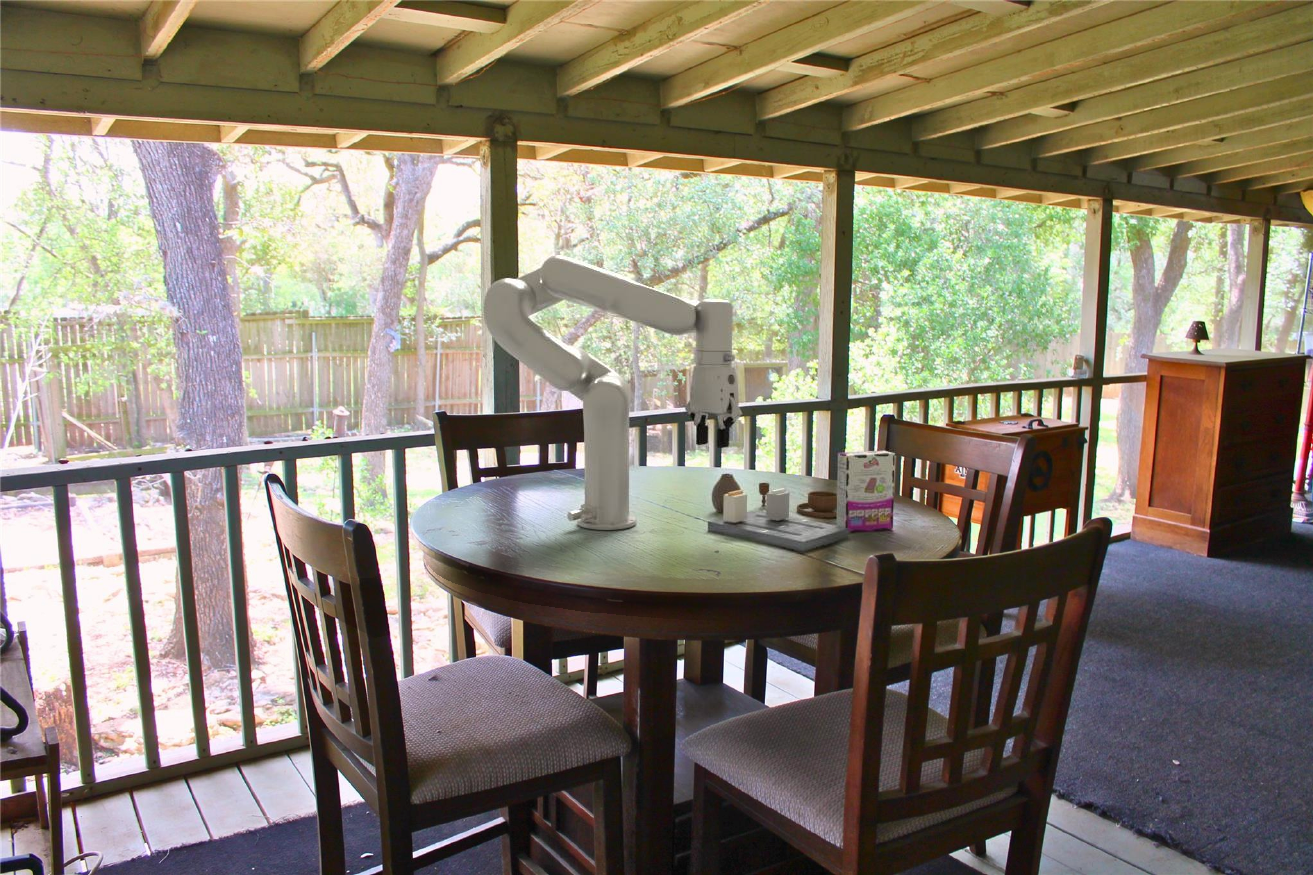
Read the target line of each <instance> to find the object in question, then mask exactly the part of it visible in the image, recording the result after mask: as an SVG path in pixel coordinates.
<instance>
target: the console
mask: <svg viewBox="0 0 1313 875" xmlns="http://www.w3.org/2000/svg"><path fill="white" fill-rule="evenodd" d="M707 531H708V532H712V533H717V534H721V535H726V536H728V537H729V536H730V537H735V538H739V539H744V540H749V541H751V542H755V543H756V542H758V543H761V544H765V545H771V546H774V545H775V547H779V548H783V547H785V548H784V549H789V550H792V549H794V550H793V551H797V552H801V551H802V553H804V551H805V552H807V551H810V549H811V550H814V549H817V548H816V547H818V548H820V546H821V547H823V546H822V545H824V546H827V545H829V544H833V543H837V542H840V541H843V540H846V539H849V537H850V532H849V528H846V527H841V526H837V524H835V525H834V524H829V523H824V522H819V521H815V520H809V519H803V518H799V517H793V516H789V518H785V519H782V520H778V521H777V520H772V519H767V518H766V511H763V510H759V509H758V510H757V509H754V510H753V509H752V510H749V511H747V520H743V521H739V522H735V523H734V522H729V521H724V520H723V517H721V518H720V517H719V518H717V519H712V520H708V521H707ZM813 548H814V549H813Z"/></svg>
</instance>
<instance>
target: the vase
mask: <svg viewBox="0 0 1313 875" xmlns="http://www.w3.org/2000/svg"><path fill="white" fill-rule="evenodd" d="M738 490H742V489H741V487H740V485H739V484H738V482H737V481H736V479H735V477H734V475H733V473H722V474H721V475H720V478H719V479H718V480H717V482H716V483H715V484H714V486H713V488H712V491H711V503H712V506H713V508H714V509H715V510H716V512H717V513H719V514H723V509H724V495H725V494H728V492H733V491H738Z"/></svg>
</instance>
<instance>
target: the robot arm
mask: <svg viewBox="0 0 1313 875" xmlns="http://www.w3.org/2000/svg"><path fill="white" fill-rule="evenodd" d="M562 301H568V302H571V303H573V304H574V303H575V304H578V305H580V306H582V307H586V308H588V309H592V310H594V311H597V312H600V313H603V314H606V315H609V316H611V317H614V318H621V319H626V320H628V321H631V322H634V323H637V324H640V325H643V326H645V327H649V328H651V329H655V330H658V331H661V332H663V333H665V334H666V333H667V334H669V335H672V336H683V335H685V334H687V335H688V334H693V333H695V339H696V340H695V365H693V370H692V376H691V382H690V391H689V392H690V393H689V401H688V403H687V404H686V405H685V408H684V410H685V411H686V413H687V414H688V415H689V416H690V418H691V420H692V421H693V425H694V426H695V427H696V428H695V429H696V430H695V444H696V445H697V446H701V445H707V444H708V443H709V425H708V424H707V421H708V417H709V415H716V416H717V422H718V427H719V428H717V431H716V447H717V449H724V448H728V447H730V429H732V428H733V425H734V424H735V423H736V421H737V420H738V419H739V418H740V417H741V416H742V415H743V412H742V409H741V408H740V405H739V403H740V402H739V383H738V377H737V371H736V366H732V365H733V362H734V361H735V360H736V356H735V354H733V322H734V321H733V318H734V317H733V316H734V315H733V314H734V312H733V311H734V308H733V303H732V302H731V301H729V300H727V299H726V300H725V299H703V300H700V301H699V300H691V299H690V300H689V299H685V298H683V297H679V296H675V295H673V294H670V293H668V292H664V291H661V290H659V289H655V288H653V287H649V286H647V285H645V284H641V283H639V282H636V281H634V280H632V279H630V278H629V277H626V276H624V275H621V274H619V273H615V272H613V271H610V270H608V269H607V270H606V269H603V268H600V267H597V266H595V265H592V264H589V263H587V262H583V261H580V260H578V259H575V258H572V257H568V256H564V255H557V254H556V255H553V256H550V257H548V258H547V259H546V260H544V262H543V263H542V265H541V267H539V268H537V269H535V270H534V271H531V272H528V273H526V274H524V275H522V276H519V277H517V278H511V277H506V278H505V277H504V278H501V279H498V280H496V281H494V282H493V283H492V284H491V285H490V286H489V287H488V289H487V291H486V293H485V296H484V300H483V317H484V322H485V325H486V328H487V330H488V331H489V334H490V335H491V337H492V338H493V340H494V341H495V342H496V344H498V345H499V346H500V348H502V349H503V350H504V351H506V352H507V353H508V354H509V355H511V356H512V357H514V358H515V359H516V360H518V361H519V362H520V363H521V364H523V366H525V367H526V368H528V369H529V370H530V371H532V372H533V373H535V375H537V376H538V377H540V378H541V379H543V380H544V381H545V382H546V383H548V384H549V385H550V386H551V387H553V389H557V390H558V391H562V392H568V393H570V395H571V394H572V395H573V396H575V398H577V399H579V400H581V401H582V413H583V414H582V417H583V433H584V434H583V435H584V436H583V437H584V438H583V440H584V446H583V447H584V448H583V449H584V450H583V451H584V503H583V504H582V503H581V504H580V508H579V509H578V510H572V511H569V512H567V517H566V518H567V520H568V521H569V522H573V521H577V525H578V526H579V527H580V528H581V527H582V528H585V529H590V530H597V531H598V530H599V531H616V530H624V529H628V528H632V527H634V526H635V525H637V518H636V517H635V516H633V515H631V514H630V405H631V403H632V398H633V397H632V396H633V395H632V388H631V387H630V384H629V383H628V382H627V380H626V379H625V378H624V377H623V376H621V375H619V373H617V372H615V371H614V370H612V368H610V367H608V366H607V365H606V364H605V363H603V362H602V361H600V360H598V359H597V358H596V357H595V356H593V355H592V354H590V353H589V352H588V351H586V350H584V349H583V348H582V347H579V346H576V345H573V344H570V345H568V344H566V343H564V342H562V340H559V339H558V338H556V337H555V336H553V335H552V334H551V333H550V332H548V331H547V330H546V329H544V328H543V327H542V326H540V325H539V324H537V323H536V322H534V321H533V320H532V319H531V318H530V317H529V316H532V315H534V314H537V313H538V312H540V311H543V310H545V309H547V308H550V307H552V306H554V305H557V304H559V303H561V302H562ZM706 424H707V425H706Z"/></svg>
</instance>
